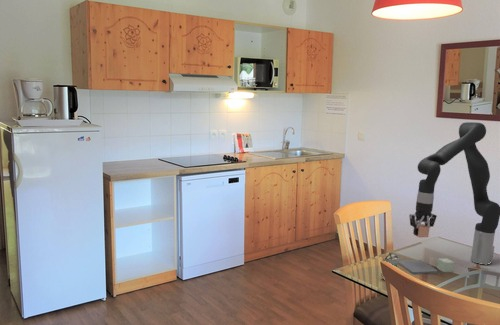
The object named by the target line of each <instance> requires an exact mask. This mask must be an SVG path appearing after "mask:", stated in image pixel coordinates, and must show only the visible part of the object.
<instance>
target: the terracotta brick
mask: <svg viewBox="0 0 500 325" xmlns="http://www.w3.org/2000/svg"><path fill="white" fill-rule="evenodd" d="M418 228H419V229H418V235H415V236H416V237H417V238H429V233H430V228H429V227H428V226H426V225H425V223H423V224H422V223H421V224H420V225H419V227H418ZM412 235H414V233H412Z"/></svg>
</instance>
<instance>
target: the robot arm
mask: <svg viewBox="0 0 500 325" xmlns="http://www.w3.org/2000/svg"><path fill="white" fill-rule="evenodd" d="M486 134H487V127H486V126H485V124H483V123H482V122H474V121H473V122H471V121H470V122H468V121H467V122H466V121H465V122H463V123H461V124H460V125H459V128H458V137H459V138H458V139H455V140H453V141H451V142H449V143H447V144H445V145H443V146H442V147H441V148H440V149H438V150H437V151H436V152H435V153H432V154H429V155H428V156H427V157H424V158H422V159H421V160H420V161H419V163H418V164H417V171H418V172H419V173H421V174H422V175H426V177H425V179H424V178H422V179H420V180H419V184H418V190H417V191H418V192H417V194H416V195H417V196H416V203H415V213H413V214H412V213H409V223H410V226H411V227H412V228H413V230H412V231H413V233H414V234H413V233H412V234H413V236H416V235H418V229H419V228H418V227H419V225H420V224H422V223H423V224H424V225H426V226H428V227H429V229H431V227H434V225H435V222H436V220H437V217H438V216H437V215H436V214H435V213H432V212H433V209H434V208H433V207H434V199H435V198H434V197H435V195H434V194H435V187H436V183H437V181H438V178H439V176H440V174H441V171H442V170H441V166H444V165H446V164H448V163H449V161H451V160H452V159H453V158H455V157H456V156H457V155H459V154H460V153H462V152H464V155H465V160H466V164H467V171H468V174H469V179H470V184H471V188H472V195H473V206H474V211H475V213H476V214H477V215H478V216H480V217H482V219H481V221H480V222H478V223H476V224H475V228H474V233H473V242H472V248H471V256H470V261H471V260H472V261H474V262H478V263H482V264H488V263H490V262H492V263H493V258H494V253H495V245H494V241H495V237H496V236H495V234H496V230H497V228H498V226H499V222H500V205H499V203H497V202H495V201H492V200H490V199H489V195H488V190H487V188H488V184H489V181H490V178H491V174H490V173H491V172H490V168H489V164H488V161H487V160H486V158H485V157H484V156H483V155H482V153H481V152H480V151H479V148H478V147H477V145H476V143H478V142H480V141H481V140H483V139H484V138H485V136H486ZM472 261H471V262H472ZM474 262H473V263H474Z"/></svg>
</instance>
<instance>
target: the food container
mask: <svg viewBox="0 0 500 325" xmlns="http://www.w3.org/2000/svg"><path fill="white" fill-rule="evenodd" d="M382 261H386V262H389V263H391V264H392V265H394V266H396V267H397V268H398V265H399V264H398V263H399V262H400V261H401V260H400V258H399V255H398V254H397V253H395V252H391V251H389V252H388V255H386V256H385V258H382ZM381 276H382V274H381ZM382 277H383V276H382Z"/></svg>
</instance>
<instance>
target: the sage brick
mask: <svg viewBox="0 0 500 325" xmlns="http://www.w3.org/2000/svg"><path fill="white" fill-rule="evenodd" d="M436 266H437V267H436V268H437V270H438V271H439V270H440V271H441V272H442V273H452V272H453V268H454V261H452V260H450V259H449V258H447V257H446V258H437V265H436Z"/></svg>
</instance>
